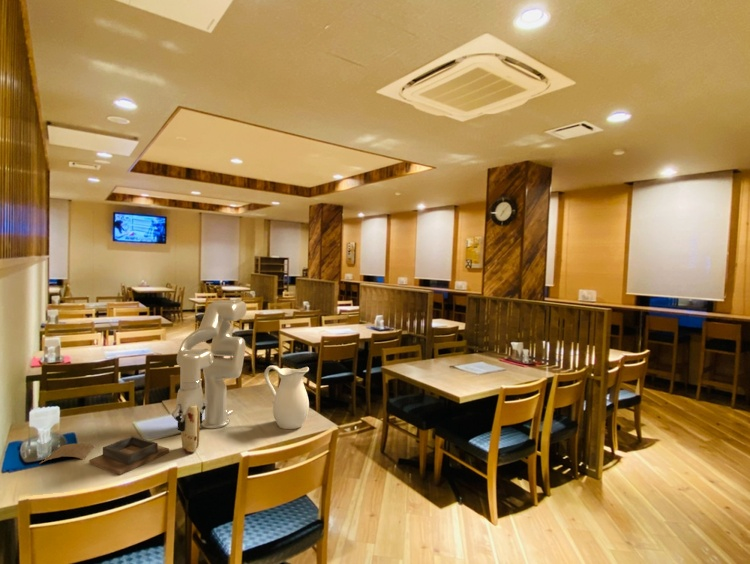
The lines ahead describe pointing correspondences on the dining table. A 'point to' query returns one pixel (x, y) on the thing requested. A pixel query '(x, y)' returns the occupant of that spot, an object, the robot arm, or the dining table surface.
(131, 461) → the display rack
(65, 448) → the brown curved panel
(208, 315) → the robot arm
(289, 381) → the pitcher
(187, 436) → the food model
